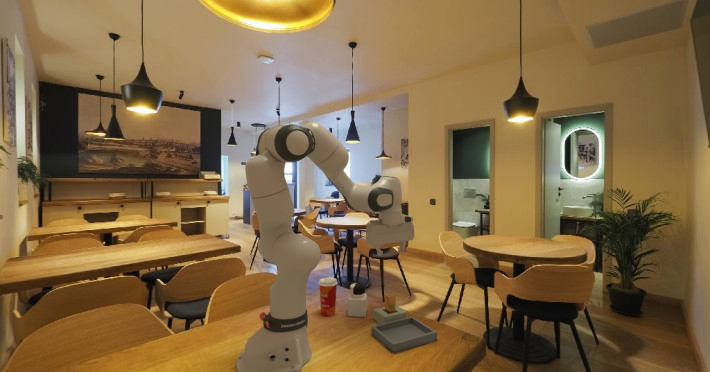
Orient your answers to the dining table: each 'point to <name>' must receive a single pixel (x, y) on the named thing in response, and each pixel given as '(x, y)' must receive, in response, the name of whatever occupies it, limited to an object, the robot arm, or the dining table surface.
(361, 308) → the medicine bottle
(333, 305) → the paper cup
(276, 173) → the robot arm
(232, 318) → the dining table surface
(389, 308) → the pin
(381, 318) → the socket block
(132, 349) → the dining table surface
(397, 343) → the tray
